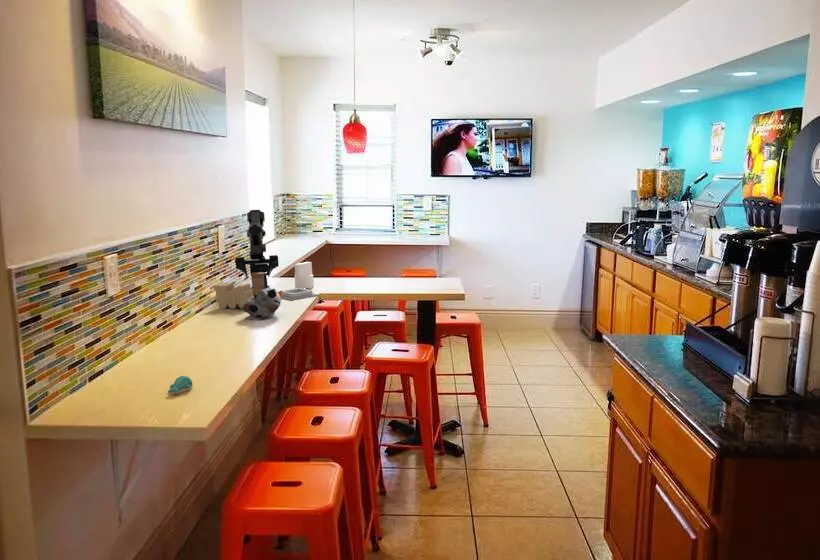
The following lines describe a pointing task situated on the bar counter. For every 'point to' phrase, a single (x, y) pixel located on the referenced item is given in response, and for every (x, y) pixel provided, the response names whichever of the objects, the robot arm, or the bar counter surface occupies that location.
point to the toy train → (232, 295)
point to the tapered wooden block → (257, 282)
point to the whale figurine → (181, 385)
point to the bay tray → (297, 294)
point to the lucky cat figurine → (263, 304)
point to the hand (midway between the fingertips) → (257, 277)
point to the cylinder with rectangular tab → (304, 275)
